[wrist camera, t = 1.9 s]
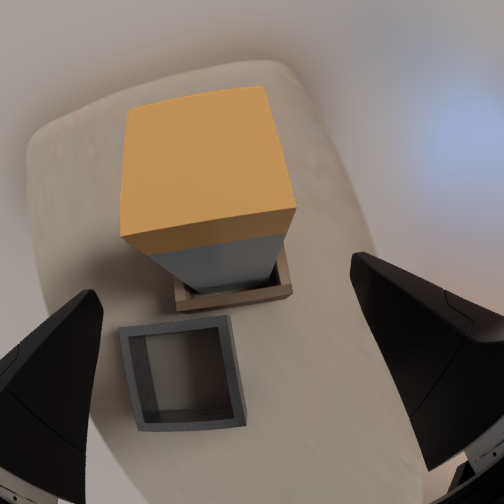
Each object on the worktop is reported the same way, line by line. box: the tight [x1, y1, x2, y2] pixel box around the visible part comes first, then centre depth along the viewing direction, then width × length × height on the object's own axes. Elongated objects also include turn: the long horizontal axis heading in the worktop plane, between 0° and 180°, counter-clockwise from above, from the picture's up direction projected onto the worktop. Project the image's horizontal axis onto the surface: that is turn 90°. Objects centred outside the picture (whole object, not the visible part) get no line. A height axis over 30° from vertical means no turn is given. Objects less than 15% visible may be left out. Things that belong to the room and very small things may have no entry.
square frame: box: [172, 244, 293, 314], centre depth 18 cm, size 7×7×3 cm
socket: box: [119, 315, 247, 432], centre depth 16 cm, size 7×7×3 cm
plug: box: [120, 86, 297, 294], centre depth 14 cm, size 4×4×13 cm
